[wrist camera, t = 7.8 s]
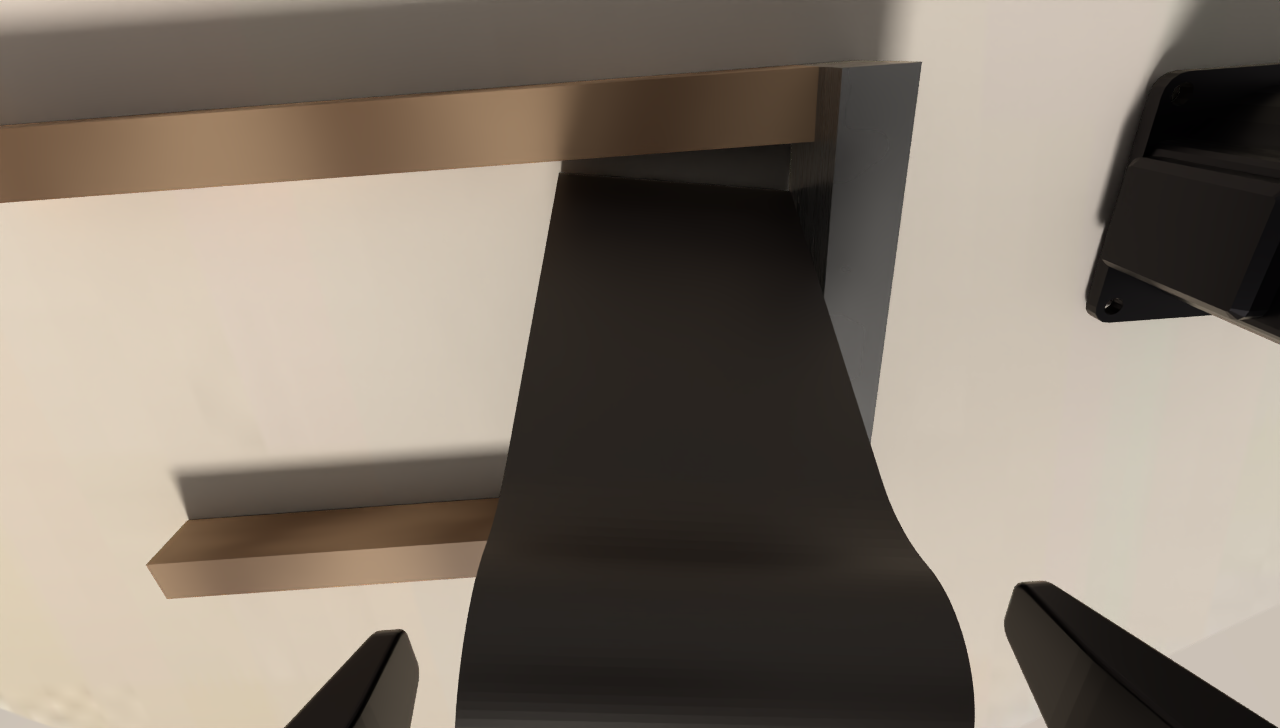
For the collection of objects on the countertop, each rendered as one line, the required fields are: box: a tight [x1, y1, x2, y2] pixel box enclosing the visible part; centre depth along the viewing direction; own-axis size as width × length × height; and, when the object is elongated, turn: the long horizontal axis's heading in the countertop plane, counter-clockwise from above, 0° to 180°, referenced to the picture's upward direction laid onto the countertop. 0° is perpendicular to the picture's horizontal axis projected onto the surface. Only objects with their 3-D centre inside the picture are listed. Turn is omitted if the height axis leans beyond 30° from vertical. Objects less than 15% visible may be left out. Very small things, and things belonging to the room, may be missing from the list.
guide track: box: [0, 65, 819, 599], centre depth 17 cm, size 21×14×2 cm, turn 94°
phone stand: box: [455, 173, 975, 728], centre depth 12 cm, size 9×6×12 cm, turn 175°
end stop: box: [789, 60, 922, 444], centre depth 16 cm, size 2×14×4 cm, turn 4°
